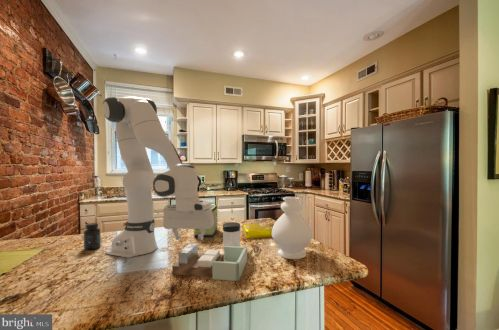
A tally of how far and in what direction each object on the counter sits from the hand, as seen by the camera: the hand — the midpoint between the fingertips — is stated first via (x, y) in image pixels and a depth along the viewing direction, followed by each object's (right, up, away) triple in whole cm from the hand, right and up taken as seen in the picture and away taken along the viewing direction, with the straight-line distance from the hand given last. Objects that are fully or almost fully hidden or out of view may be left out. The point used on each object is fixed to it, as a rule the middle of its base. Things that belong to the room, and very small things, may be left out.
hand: (189, 239), depth 89 cm
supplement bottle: (-54, -12, +22) cm, 60 cm away
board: (+4, -11, 0) cm, 12 cm away
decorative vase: (+43, -11, +12) cm, 46 cm away
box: (+17, -11, -3) cm, 20 cm away
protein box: (-2, -11, +44) cm, 46 cm away
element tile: (+28, -11, +42) cm, 52 cm away
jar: (+15, -11, +18) cm, 26 cm away
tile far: (+9, -8, +2) cm, 12 cm away
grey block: (0, -8, 0) cm, 8 cm away
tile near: (+8, -8, -4) cm, 12 cm away
